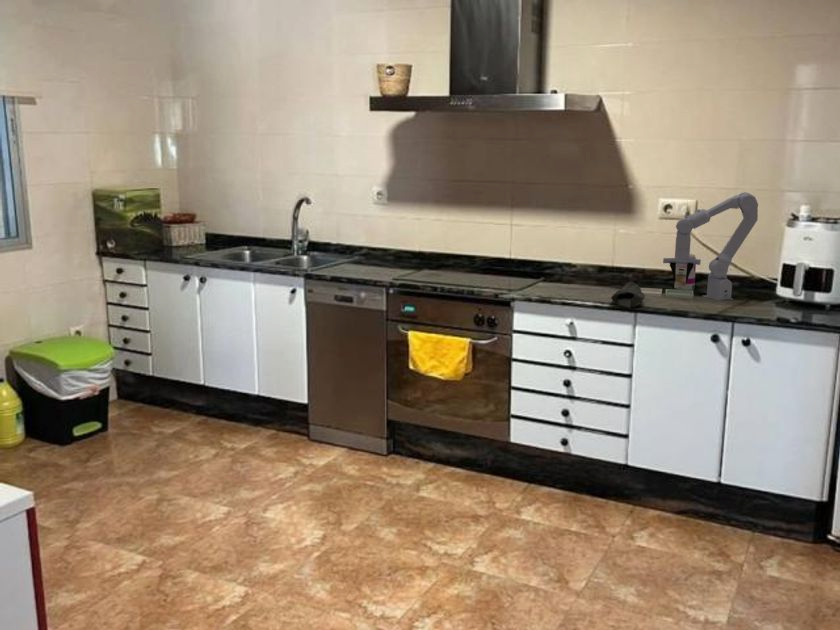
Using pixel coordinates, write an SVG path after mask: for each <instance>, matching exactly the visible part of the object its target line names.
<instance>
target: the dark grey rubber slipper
mask: <svg viewBox="0 0 840 630" xmlns="http://www.w3.org/2000/svg"><path fill="white" fill-rule="evenodd" d="M640 288H641V287H640V286H639V284H637V283H635V282H633V281H630V282H628V283H626V284H625V285H624V286H623V287H622V288H620V289H619V290H617V291H615V293H613V294H612V296H611V297H610V298H611V300H612V301H613V303H615V305H617V306H619V307H620V308H628V309H630V308H634V307H637V306H638V305H640V304H641V303H643V300H644V299H645V298H646V296H644V294H643V293H642V291H641V289H640Z"/></svg>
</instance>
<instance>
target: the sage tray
mask: <svg viewBox="0 0 840 630" xmlns="http://www.w3.org/2000/svg"><path fill="white" fill-rule="evenodd" d="M694 296H695V295H694V290H681V289H669V288H668V289H667V288H666V289H665V298H673V299H674V298H676V299H689V300H691V299H692V300H693V299H694Z"/></svg>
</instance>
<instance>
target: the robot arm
mask: <svg viewBox="0 0 840 630" xmlns="http://www.w3.org/2000/svg"><path fill="white" fill-rule="evenodd" d="M758 208H759V202H758V200H757V199H756V196H755V195H753V194H751V193H749V192H746V191H745V192H741V193H739V194H736V195H733V196H732V197H729V198H727V199H725V200H723V201H721V202H720V203H718V204H715V205H714V206H712V207H710V208H709V209H704V208H702V209H700V208H698V209H696V211H695V212H694V213H692V214H690V215H686V216H685V218H681V219H679V220H677V223H676V225H675V228H676V230H677V231H676V237H675V248H674V249H675V250H674V257H663V261H662V263H663V264H669V267H670V269H671V273H672V276H673V277H672V278H673V282H675V280H676V274H675V273H676V264H687V273H686V282H687V280H688V277H689V274H690V272H691V270H692V268H693V266H694V264H696V266H697V265H698V266H701V262H702V261H701V259H699V258H698V259H697V258H696V259H689V256H690V254H691V241H692V239H691V233H692V231H693V229H694V230H695V229H697V228H699V227H701V226H703V225H705V224H707V223H709V222H711V218H712V217H715V216H716V215H719V214H721V213H723V212H726V211H727V210H731V209H733V210H734V209H735V210H740V211H741V215H742V217H743V218H742V220H741V222H740V223H739V224H738V227H736V229H735V231H734V232H733V234H732V235H731V236H730V238H729V239H728V241H727V242H726V244H725V246H724V247H723V248H722V250H721V252H719V253H718V254H717V256H716V257H715V258H714V259H712V260H711V261H710V262H709V264H708V269H709V271H710V273H708V276H707V286H706V287H707V289H706V294H705V295H703V297H704V298H707V299H711V300H716V301H723V300H724V301H725V300H731V301H732V300H733V298H732V291H733V283H732V281H731V280H730V279H728V275H727V274H728V272H729V267H730V265H731V263H732V259H733V258H734V256H735V255H736V254H737V251H738V250H739V249H740V247H741V246H742V244H744V243H743V242H744V241H745V240H746V239H747V237H748V236H749V234H750V233H751V231H752V229H753V228H754V226H755V225H756V223H757V221H758V218H759V215H758V211H759V210H758ZM685 262H687V263H685Z"/></svg>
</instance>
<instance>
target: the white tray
mask: <svg viewBox="0 0 840 630" xmlns="http://www.w3.org/2000/svg"><path fill="white" fill-rule="evenodd" d="M640 289H641V291H642V293H643V294H644V296H645V297H654V298H656V297H657V298H661V297H662V295H663V293H662V292H663V288H654V287H653V288H652V287H651V288H650V287H640Z"/></svg>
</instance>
